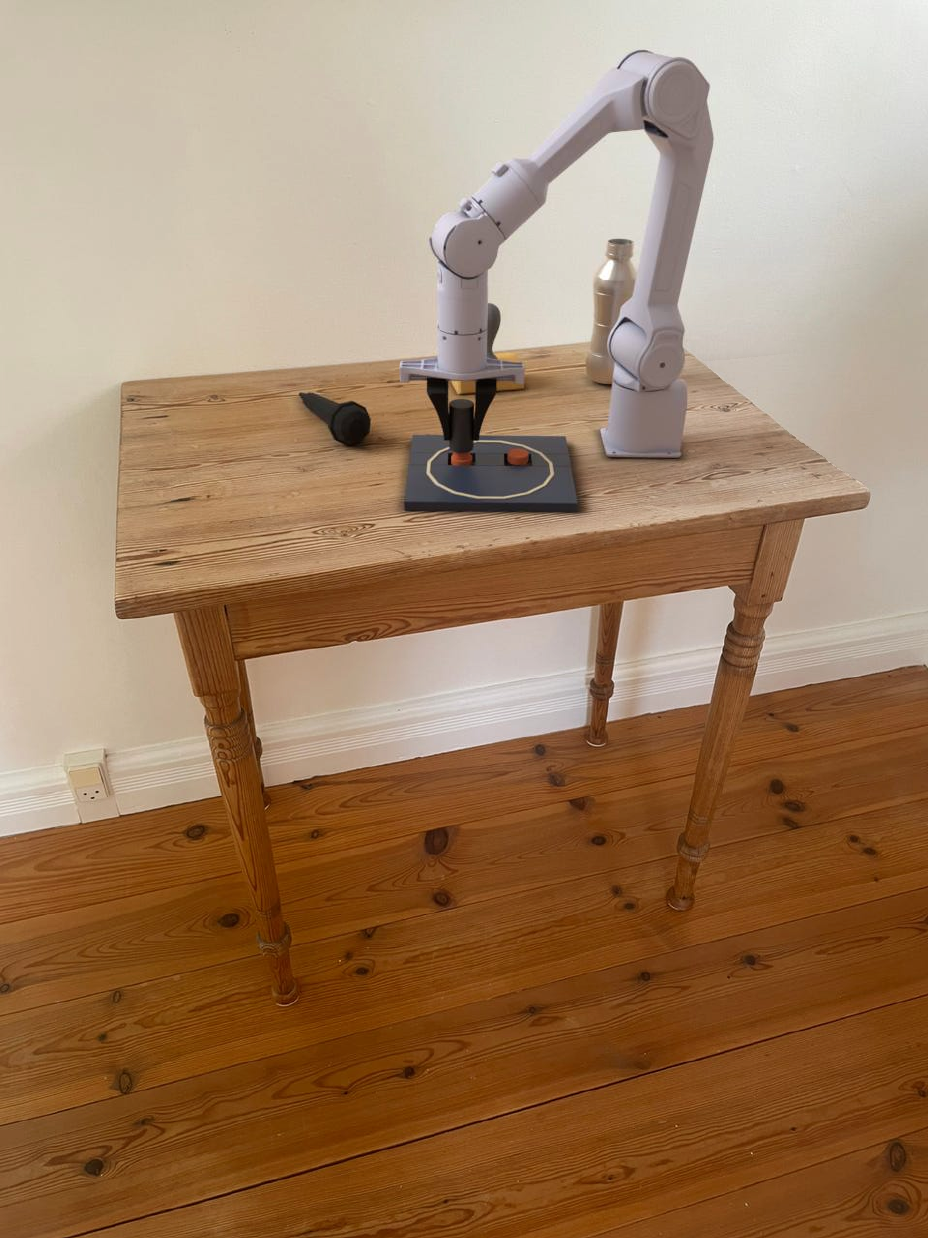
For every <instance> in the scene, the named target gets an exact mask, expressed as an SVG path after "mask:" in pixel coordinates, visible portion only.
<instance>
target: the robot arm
mask: <svg viewBox="0 0 928 1238" xmlns="http://www.w3.org/2000/svg"><path fill="white" fill-rule="evenodd" d="M615 65H616V66H615V67H611V68H609V69H608V70H607V71H606V72H604V73H603V74H601V76H600V78H599V80H597V82H596V83H595V85H594V87H593V88H592V89H591V90H590V92H589V93H587V95H586V96H585V97H584V98H583V99H582V100H581V101H580V103H578V104H577V106H576V107H575V108H574V109H573V110H572V111H571V112H570V113H569V114H568V115H567V116H566V117H565V118H564V120H562V121H561V123H560V124H559V125H558V126H557V127H556V128H555V129H554V130H553V131H552V132H551V133H550V134H549V136H547V138H546V139H545V140H544V141H543V142H541V143H540V145H539V146H538V147H537V148H536V149H535V150H534V151H533V152H532V154H530V155H529V157H527V158H517V157H512V158H509V160H508V161H506V162H505V163H504V162H502V161H498V162H497V163H496V164H495V165H494V166H493V167H492V168H491V172H492V174H493V175H492V176H491V177H490V178H489V179H488V180H487V181H486V182H485V183H484V184H483V185H482V186H480V187H479V188H478V189H477V190H476V191H475V192H474V193H473V194H472V195H471V196H470V197H469V198H468V199H467V198H466V197H464V198H462V199H461V200H460V201H459V202H458V207H459V209H457V210H456V209H455V210H454V211H449V212H447V213H445V214H443V215H442V216H440V218H439V219H438V220H437V222H436V223H435V225H434V227H433V229H434V230H433V231H432V233H431V236H430V237H428V243H429V247H430V250H431V252H432V254H433V255H434V257H435V258H436V259H437V266H436V267H437V283H436V326H437V330H436V332H437V333H436V334H437V357H432V358H424V359H423V358H422V359H416V360H415V359H414V360H401V361H400V362H399V383H402V384H408V383H410V382H411V381H416V382H426V393H427V396H428V398H429V400H430V402H431V404H432V406H433V407H434V410H435V412H436V415H437V417H438V420H439V423H440V426H441V430H442V435H443V436H444V440H445V441H450V429H449V382H451V381H476V382H475V393H474V429H473V441H479V435H481V430H482V429H481V428H482V426H483V423H484V419H485V417H486V415H487V412H488V410H489V408H490V407H491V404H492V402H493V400H494V399H495V397H496V395H497V392H498V391H497V381H506V382H514V383H516V384H524V385H525V376H524V371H525V372H526V366H525V367H524V365H525V362H524V361H522V362H511V361H503V360H496V359H489V358H487V319H488V303H489V286H488V284H489V270H490V269H492V267H493V266H494V264H495V262H496V260H497V257H498V252H499V248H500V246H501V245H503V244H504V243H505V242H506V241H507V240H508V239H509V238H510V237H511V236H512V235H513V234H514V233H516V231H518V229H519V228H520V227H522V226H523V225H524V224H525V223H526V222H527V221H528V220H529V219H530V218H532V216H533V215H534V214H536V213H537V212H538V210H540V209H541V208H542V207H543V206H544V205H545V204H546V202H547V198H548V197H547V196H548V190H549V186H550V184H551V183H552V182H553V181H554V180H555V179H557V178H558V177H559V176H560V175H561V174H563V173H564V172H565V171H566V170H567V169H568V168H570V167H571V166H572V165H573V164H574V163H575V162H577V161H578V160H579V159H580V158H582V157H583V156H584V155H585V154H586V153H587V152H589V151H590V150H591V149H592V148H593V147H594V146H595V145H596V144H598V143H599V142H600V141H601V140H603V139H604V138H605V137H606V136H607V135H609V134H612V133H620V132H621V133H622V132H630V131H641V130H643V131H644V133H645V134H646V135H647V137H648V138H649V140H650V141H651V142H652V143H653V145H654V146H655V148H656V150H658V152H659V160H658V164H657V168H656V169H657V171H656V175H655V179H654V184H653V189H652V194H651V200H650V204H649V211H648V215H647V220H646V226H645V229H644V236H643V240H642V246H641V250H640V251H641V252H640V256H639V261H638V265H637V270H636V271H637V276H636V281H635V286H634V292H633V296H632V297H631V298H630V299H629V300H628V301H627V302H626V303H625V304H624V305H623V306H622V307H621V310H620V315H619V318H618V321H617V323H616V324H615V326H614V327H613V329H612V330H611V332H610V334H609V337H608V342H607V348H608V352H609V355H610V357H611V358H612V359H613V360H614V361H615V364H614V373H613V381H612V384H611V392H610V400H609V401H610V402H609V411H608V421H607V427H602V428H600V430H599V432H600V436H601V440H602V443H603V448H604V451H605V455H606V456H607V457H609V458H671V459H672V458H673V459H675V458H677V459H678V458H680V457H682V453H681V447H682V441H683V435H684V428H685V422H686V416H687V409H688V387H687V386H688V385H687V383H686V381H685V380H684V379H678V378H679V377H680V375H681V373H682V371H683V369H684V366H685V363H686V362H685V360H686V355H685V354H686V353H685V349H684V337H685V331H686V330H685V325H684V322H683V319H682V317H681V313H680V310H679V306H678V305H679V300H680V295H681V291H682V286H683V281H684V277H685V274H686V273H685V272H686V268H687V264H688V259H689V254H690V250H691V246H692V241H693V237H694V232H695V229H696V223H697V220H698V215H699V210H700V206H701V201H702V197H703V192H704V188H705V184H706V180H707V179H706V178H707V175H708V170H709V165H710V162H711V158H712V157H711V156H712V152H713V148H714V139H715V138H714V131H713V126H712V122H711V121H712V120H711V115H710V110H709V106H708V97H709V92H710V89H711V85H710V83H709V81H708V80H707V79H706V78H705V76H704V75H703V73H702V72H701V71H700V69H699V68H698V66H697V65H696V64H695V63H694V62H693V61H691V60H690V59H688V58H685V57H682V56H669V55H663V54H658V53H654V52H652V51H649V50H647V49H635V50H632V51H630V52H628V53H627V54H625V55H624V56H623V57H622V58H621V59H620V60H619V61H618V62H617V63H616V64H615Z"/></svg>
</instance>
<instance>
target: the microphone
mask: <svg viewBox="0 0 928 1238" xmlns="http://www.w3.org/2000/svg"><path fill="white" fill-rule="evenodd" d="M298 396H299V398H300V399H301V400H302V404H304V407H305V408H306V409H307V410H309V411H310V412H311V413H313V414H314V415H315V416H317V417H318V418H319V419H320V420H321V421H323V422H324V423H325V424H326V425H327V428H328V431H329V432H330V435H331V436H332V439H333V440H335V441H336V442H338V443H340V444H342V445H344V446H346V447H348V446H352V445H356V444H360V443H361V442H363V441H364V440H365V439H366V438H367V437H368V435H369V434H370V430H371V425H372V422H371V421H372V419H371V417H370V414H369V412H368V410H367V408H366V407H365V406H363V405H361V404H360V403H357V402H355V401H353V400H348V401H345V402H340V403H339V402H337V401H334V400H332V399H330V398H327V397H324V396H322V395H319V394H317V393H315V392H310V391H309V392H299V393H298Z"/></svg>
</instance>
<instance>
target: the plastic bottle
mask: <svg viewBox="0 0 928 1238" xmlns="http://www.w3.org/2000/svg"><path fill="white" fill-rule="evenodd" d="M634 248H635V241H634V240H632V239H628V238H610V239H608V240H607V241H606V248H605V251H604V256H605V257H606V259H605V260H604V261H603V262H602V264H600V265H599V267H598V268H597V269H596V271H595V273H594V275H593V278H592V297H593V320H592V321H593V322H592V323H593V324H592V325H593V326H592V332H591V339H590V344H589V348H588V351H587V355H586V360H585V371H586V374H587V376H588V378H589V379H590V380H591V381H592V382H595V383H598V384H603V385H612V381H613V373H614V364H615V361H614V360H613V359H612V358H611V357H610V355H609V352H608V348H607V342H608V337H609V334H610V332H611V330H612V329H613V327H614V326H615V324H616V323H617V321H618V318H619V315H620V310H621V307H622V306H623V305H624V304H625V303H626V302H627V301H628V300H629V299H630V298H631V297H632V296H633V292H634V286H635V281H636V276H637V271H638V270H637V268H636V267H635V265H634V264H633V261H632V258H633V257H634V253H635V252H634Z"/></svg>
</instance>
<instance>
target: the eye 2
mask: <svg viewBox="0 0 928 1238" xmlns="http://www.w3.org/2000/svg"><path fill="white" fill-rule="evenodd" d="M528 458H529V453H528V452H527V451H526V450H523V449H512V450H510V451H508V459H507V460H508V462H507V463H509V464H511V465H513V466H524V465H526V464H527V463H529V462H528Z"/></svg>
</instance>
